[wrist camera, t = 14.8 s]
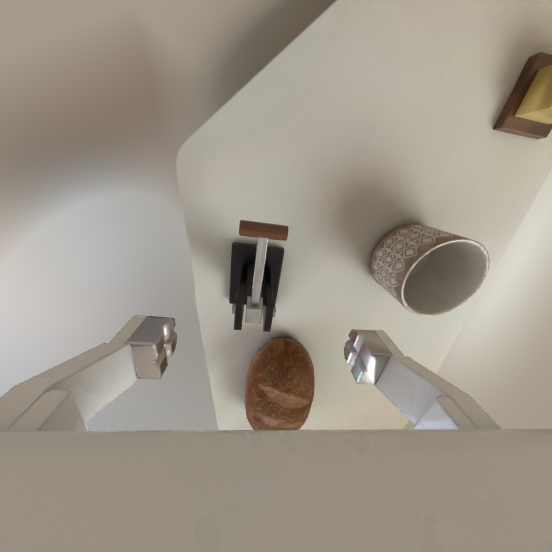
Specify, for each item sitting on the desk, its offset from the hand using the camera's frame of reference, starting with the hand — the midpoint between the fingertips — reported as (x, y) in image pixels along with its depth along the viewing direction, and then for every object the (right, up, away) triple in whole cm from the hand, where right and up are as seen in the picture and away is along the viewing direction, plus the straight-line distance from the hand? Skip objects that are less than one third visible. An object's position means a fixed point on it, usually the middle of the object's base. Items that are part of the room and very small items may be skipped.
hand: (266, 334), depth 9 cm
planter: (+24, +7, +29) cm, 39 cm away
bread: (+1, -23, +42) cm, 48 cm away
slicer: (-3, +3, +29) cm, 29 cm away
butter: (+38, +28, +19) cm, 51 cm away
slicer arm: (-2, +3, +17) cm, 17 cm away
